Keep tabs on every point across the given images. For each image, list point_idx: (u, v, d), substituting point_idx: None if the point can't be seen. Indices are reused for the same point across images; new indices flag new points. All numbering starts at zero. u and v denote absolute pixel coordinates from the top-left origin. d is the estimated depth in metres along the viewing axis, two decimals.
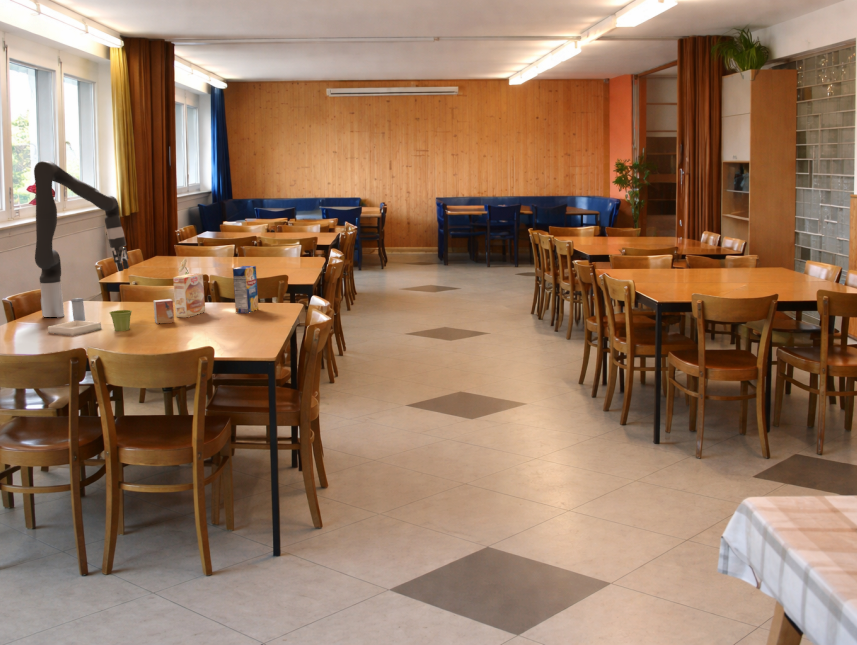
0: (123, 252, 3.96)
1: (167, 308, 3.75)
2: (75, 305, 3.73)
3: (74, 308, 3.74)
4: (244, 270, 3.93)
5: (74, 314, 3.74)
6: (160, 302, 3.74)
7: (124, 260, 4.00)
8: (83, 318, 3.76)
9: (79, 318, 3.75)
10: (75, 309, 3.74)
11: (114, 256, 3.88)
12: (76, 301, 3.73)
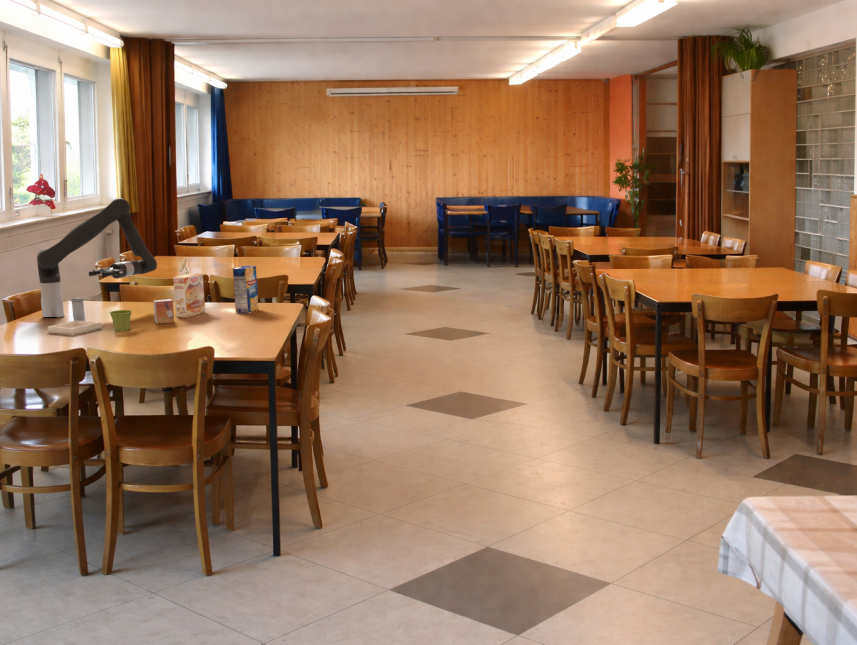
0: None
1: (167, 308, 3.75)
2: (75, 305, 3.73)
3: (74, 308, 3.74)
4: (244, 270, 3.93)
5: (74, 314, 3.74)
6: (160, 302, 3.74)
7: (96, 272, 3.90)
8: (83, 318, 3.76)
9: (79, 318, 3.75)
10: (76, 309, 3.74)
11: (118, 271, 3.88)
12: (76, 301, 3.73)
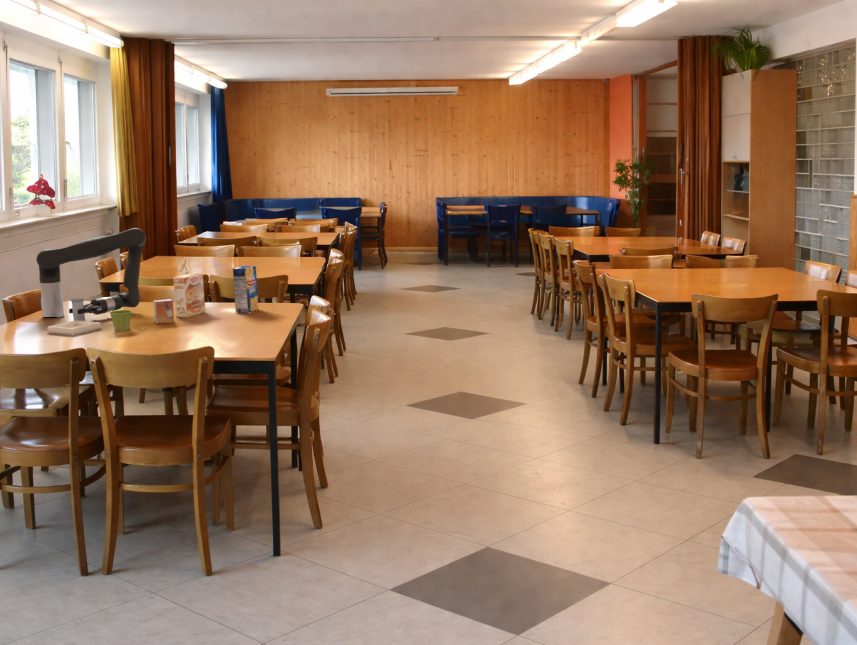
0: None
1: (167, 308, 3.75)
2: (75, 305, 3.73)
3: (74, 308, 3.74)
4: (244, 270, 3.93)
5: (74, 314, 3.74)
6: (160, 302, 3.74)
7: None
8: (83, 318, 3.76)
9: (79, 318, 3.75)
10: (75, 309, 3.74)
11: (95, 308, 3.78)
12: (76, 301, 3.73)
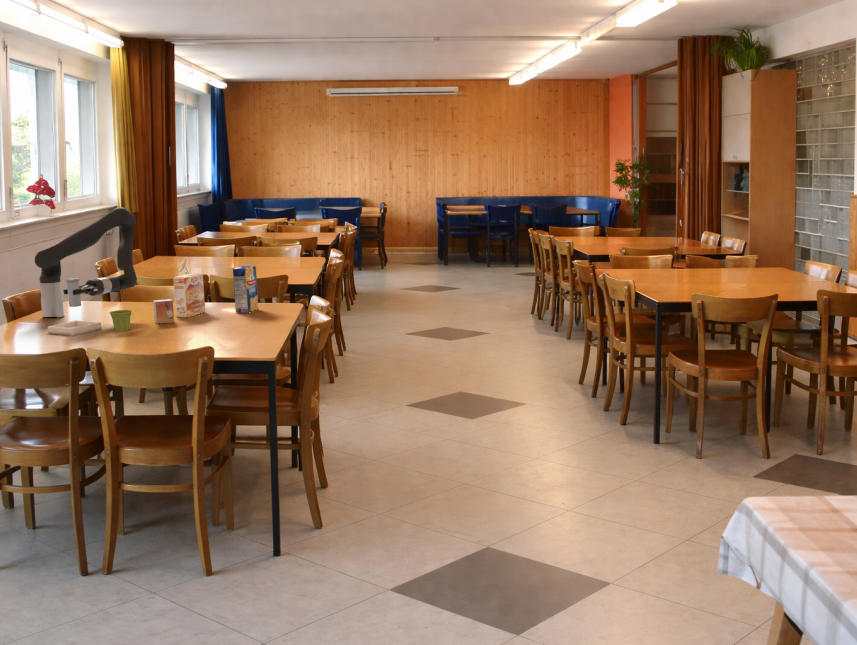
0: None
1: (167, 308, 3.75)
2: (70, 285, 3.56)
3: (69, 289, 3.56)
4: (244, 270, 3.93)
5: (69, 295, 3.57)
6: (160, 302, 3.74)
7: None
8: (79, 299, 3.59)
9: (75, 299, 3.57)
10: (71, 290, 3.56)
11: (91, 289, 3.60)
12: (71, 281, 3.56)
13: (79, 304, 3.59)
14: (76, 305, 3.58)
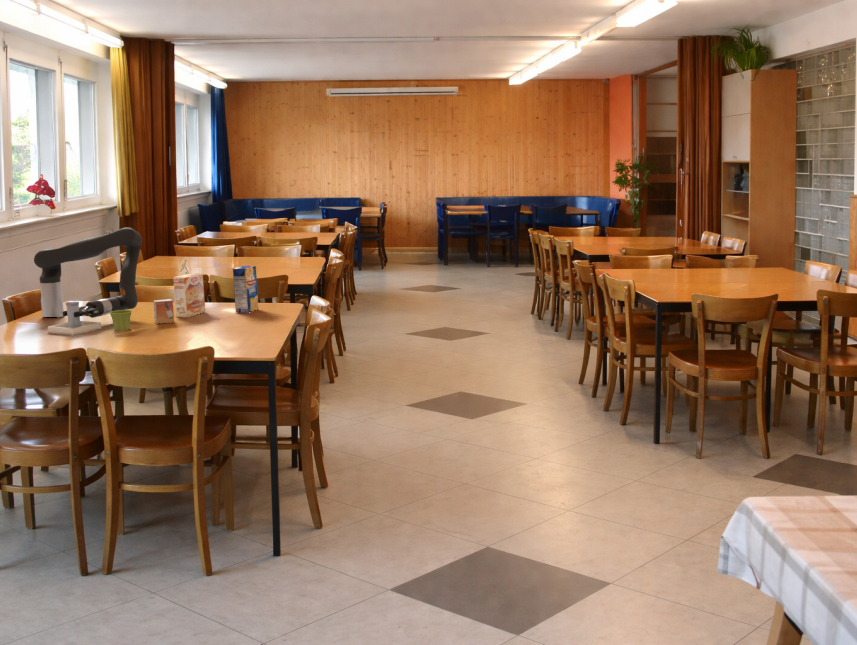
0: None
1: (167, 308, 3.75)
2: (70, 309, 3.55)
3: (69, 312, 3.56)
4: (244, 270, 3.93)
5: (69, 319, 3.56)
6: (160, 302, 3.74)
7: None
8: (78, 323, 3.58)
9: (74, 322, 3.57)
10: (70, 313, 3.56)
11: (92, 311, 3.60)
12: (71, 305, 3.55)
13: None
14: None
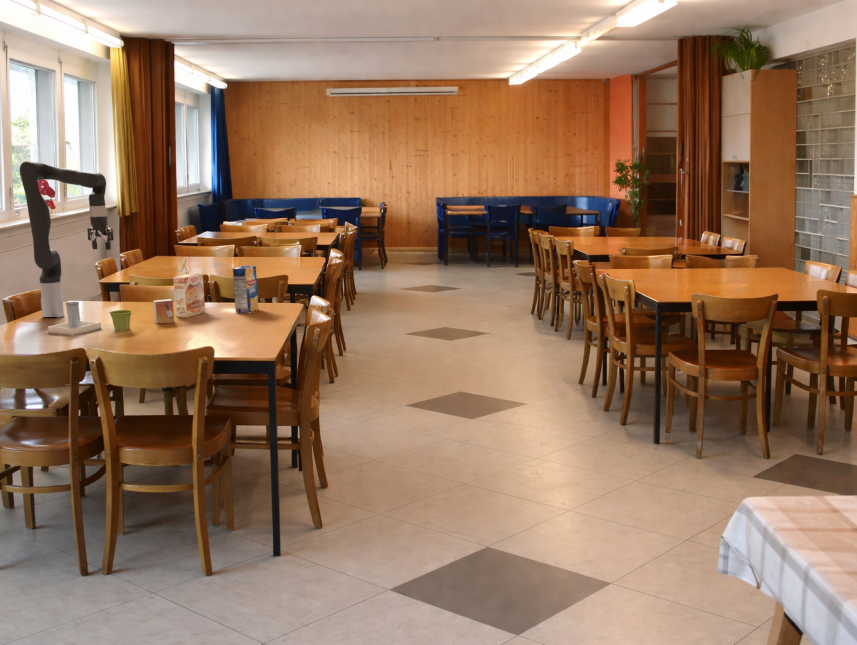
0: None
1: (167, 308, 3.75)
2: (70, 309, 3.55)
3: (69, 312, 3.56)
4: (244, 270, 3.93)
5: (69, 319, 3.56)
6: (160, 302, 3.74)
7: (94, 240, 3.89)
8: (78, 323, 3.58)
9: (74, 322, 3.57)
10: (70, 313, 3.56)
11: (109, 234, 3.83)
12: (71, 305, 3.55)
13: None
14: None
